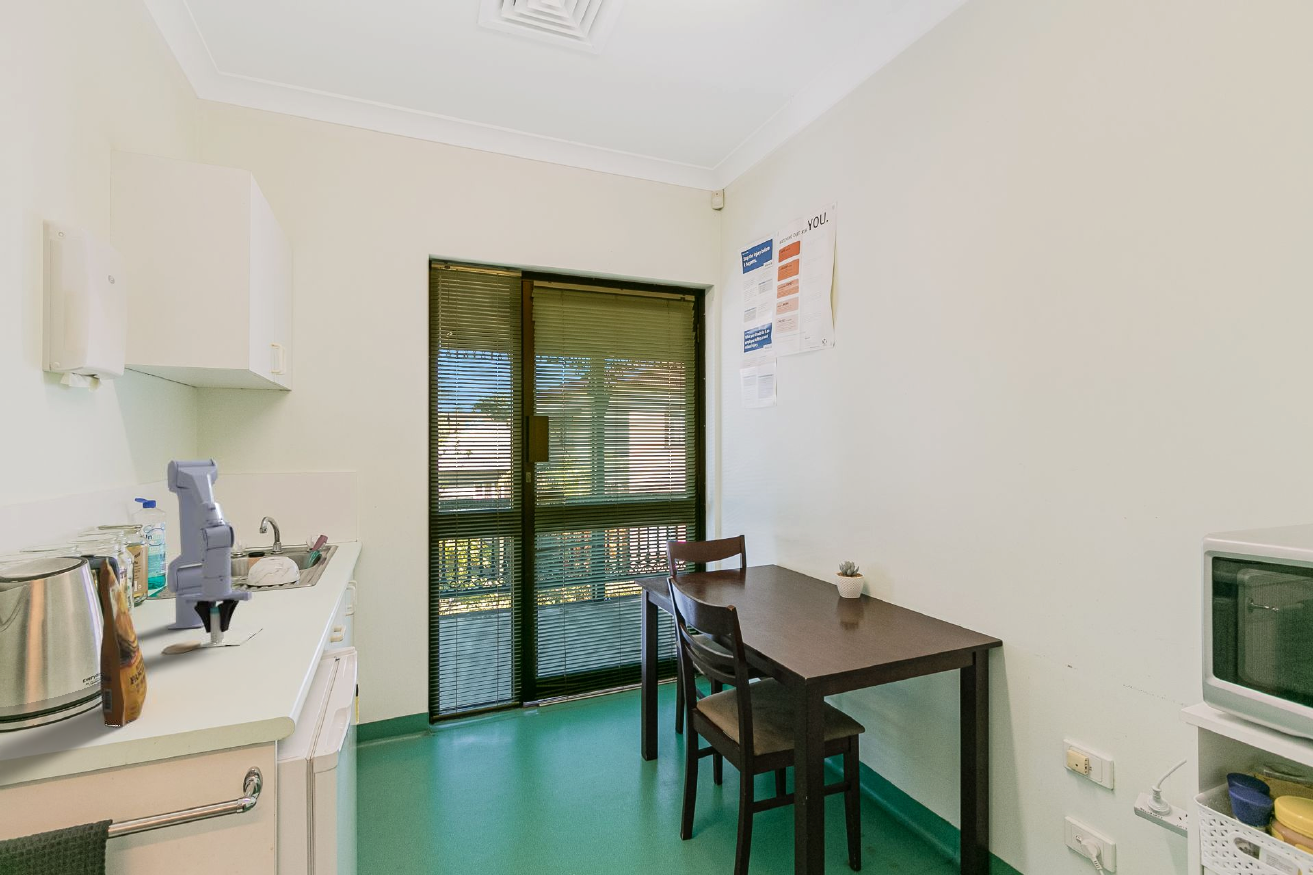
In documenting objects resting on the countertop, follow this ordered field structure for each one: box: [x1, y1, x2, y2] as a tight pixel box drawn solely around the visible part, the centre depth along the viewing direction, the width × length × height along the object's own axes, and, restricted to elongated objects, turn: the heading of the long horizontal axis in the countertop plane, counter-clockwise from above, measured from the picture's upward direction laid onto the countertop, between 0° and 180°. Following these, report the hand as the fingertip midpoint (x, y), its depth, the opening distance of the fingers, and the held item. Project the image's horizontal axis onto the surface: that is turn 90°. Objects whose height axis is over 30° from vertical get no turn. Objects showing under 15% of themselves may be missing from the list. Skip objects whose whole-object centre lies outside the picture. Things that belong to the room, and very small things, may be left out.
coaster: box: [162, 641, 202, 655], centre depth 141 cm, size 7×7×1 cm
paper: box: [197, 637, 250, 649], centre depth 148 cm, size 12×9×1 cm
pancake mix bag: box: [99, 556, 148, 727], centre depth 109 cm, size 7×19×28 cm, turn 36°
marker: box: [210, 605, 224, 642], centre depth 145 cm, size 3×3×8 cm
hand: (217, 631), depth 145 cm, fingers closed on marker, 3 cm apart
